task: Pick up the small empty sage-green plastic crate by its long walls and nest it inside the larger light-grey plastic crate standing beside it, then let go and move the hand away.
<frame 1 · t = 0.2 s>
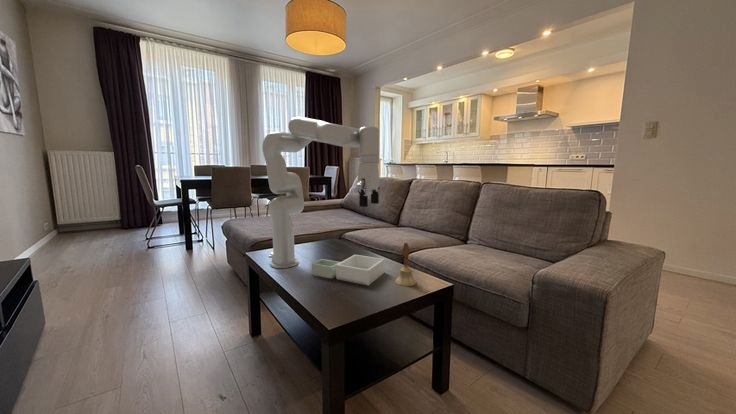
hand: (369, 204, 117), 31 cm above the table, tool pointing down, fingers open, 9 cm apart
hand bell: (405, 282, 120), on the table
small crate: (326, 274, 128), on the table
big crate: (361, 275, 126), on the table
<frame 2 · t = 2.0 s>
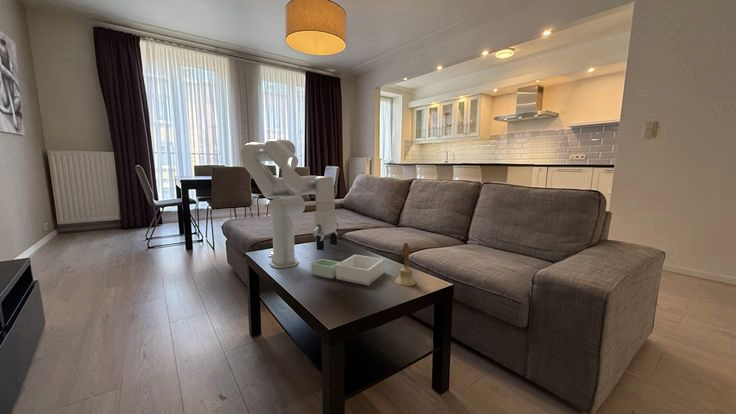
hand: (327, 247, 126), 12 cm above the table, tool pointing down, fingers open, 9 cm apart
nothing on the table moved.
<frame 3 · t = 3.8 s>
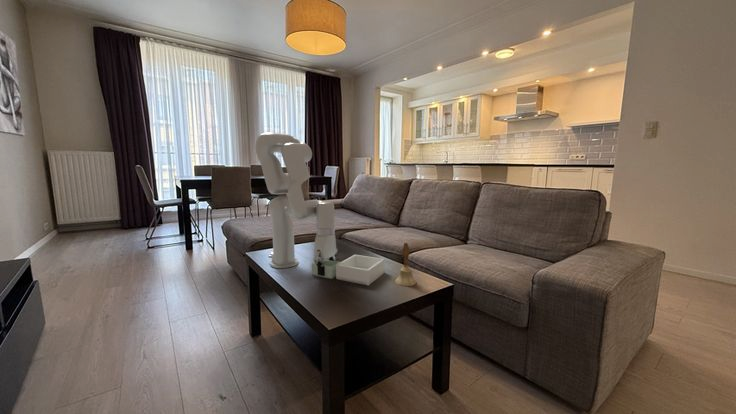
hand: (326, 271, 128), 1 cm above the table, tool pointing down, fingers closed on small crate, 7 cm apart
small crate: (326, 274, 128), on the table, touching gripper
everything else where it was.
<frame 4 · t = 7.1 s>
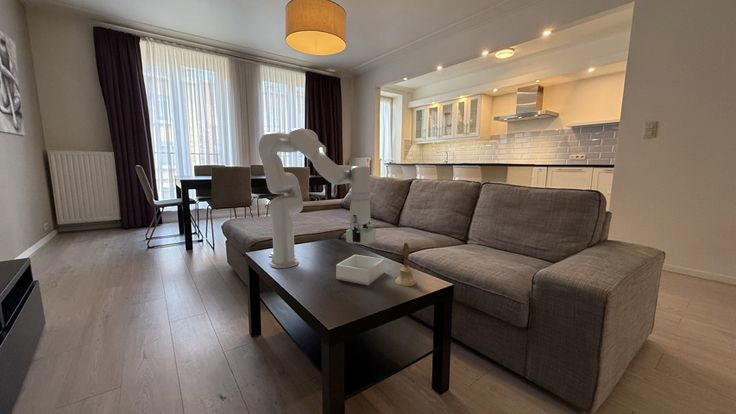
hand: (360, 239, 124), 16 cm above the table, tool pointing down, fingers closed on small crate, 7 cm apart
small crate: (361, 241, 124), point 15 cm above the table, touching gripper
everything else where it was.
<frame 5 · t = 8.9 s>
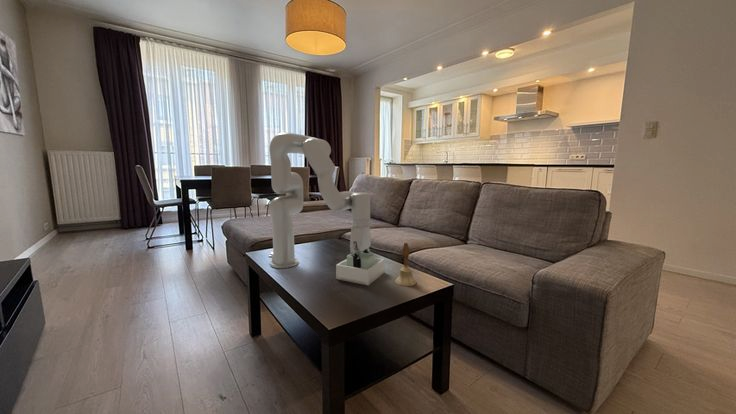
hand: (361, 264, 126), 5 cm above the table, tool pointing down, fingers closed on small crate, 7 cm apart
small crate: (361, 266, 126), point 4 cm above the table, touching gripper
everything else where it was.
when the fingers open (3 cm above the table, at t = 10.3 s): small crate drops 1 cm, resting on big crate.
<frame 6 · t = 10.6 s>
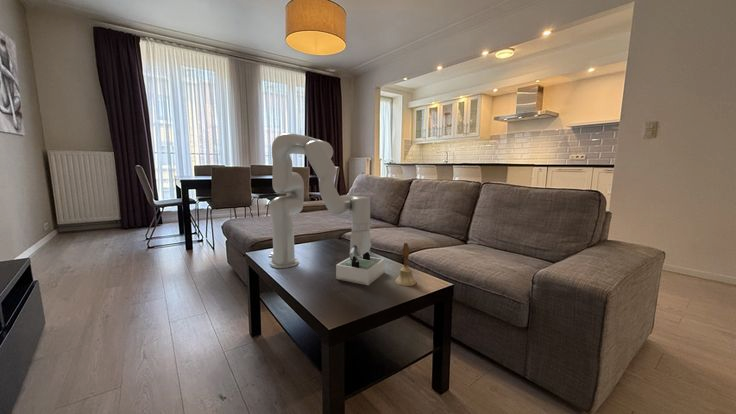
hand: (361, 266, 126), 4 cm above the table, tool pointing down, fingers open, 9 cm apart
small crate: (361, 273, 126), point 1 cm above the table, touching big crate
everything else where it was.
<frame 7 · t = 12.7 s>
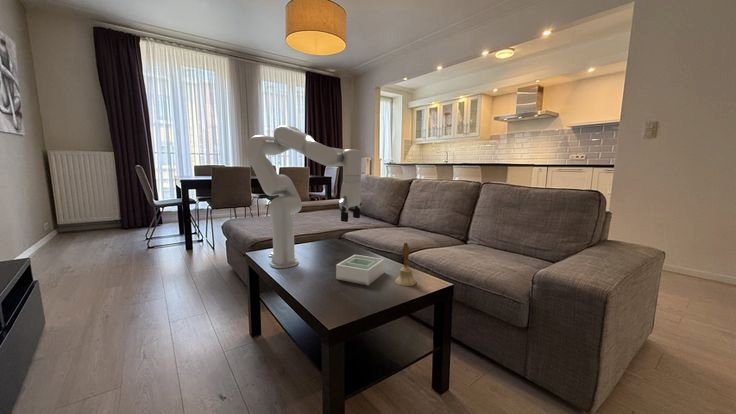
hand: (350, 219, 128), 23 cm above the table, tool pointing down, fingers open, 9 cm apart
nothing on the table moved.
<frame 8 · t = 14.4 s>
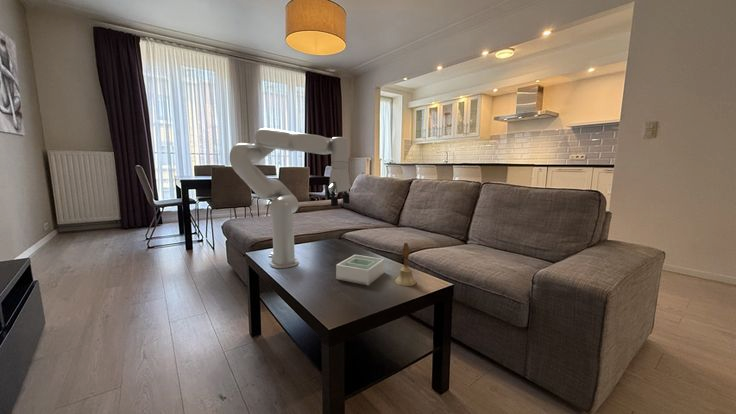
hand: (340, 204, 135), 28 cm above the table, tool pointing down, fingers open, 9 cm apart
nothing on the table moved.
at the end: small crate 0.0 cm off-centre on the big crate, point 1.0 cm above the big crate's base; small crate tilted 0°; the gripper is holding nothing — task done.
